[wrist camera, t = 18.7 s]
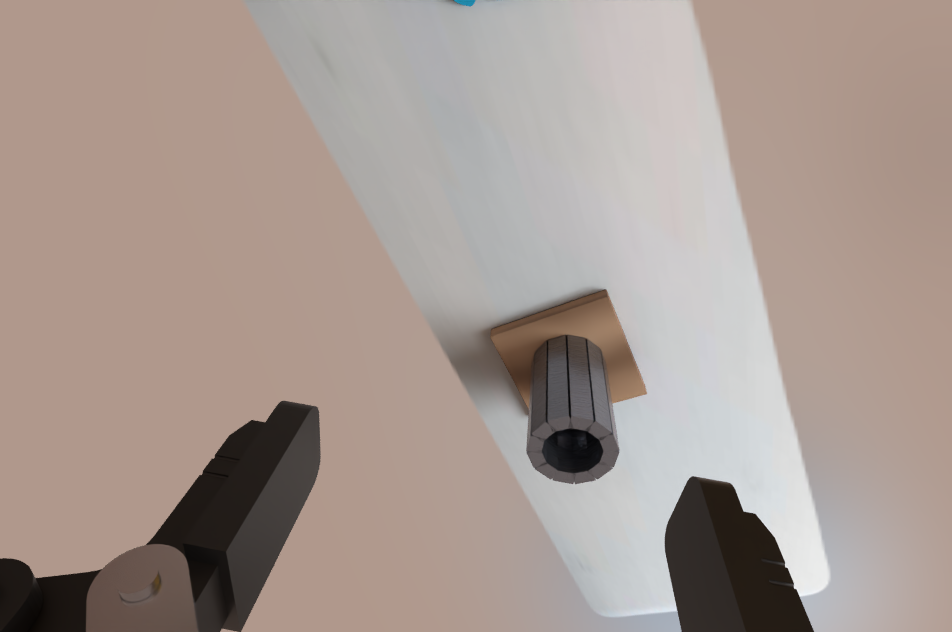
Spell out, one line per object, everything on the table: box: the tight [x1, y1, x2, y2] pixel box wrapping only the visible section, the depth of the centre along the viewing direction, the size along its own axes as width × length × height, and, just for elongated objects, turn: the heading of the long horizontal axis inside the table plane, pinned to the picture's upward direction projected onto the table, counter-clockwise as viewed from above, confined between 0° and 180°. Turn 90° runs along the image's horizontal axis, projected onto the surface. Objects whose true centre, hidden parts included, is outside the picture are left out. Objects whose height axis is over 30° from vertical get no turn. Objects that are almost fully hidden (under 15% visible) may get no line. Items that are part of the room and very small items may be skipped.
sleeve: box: [526, 334, 619, 484], centre depth 40 cm, size 6×6×10 cm
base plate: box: [490, 290, 647, 409], centre depth 45 cm, size 10×10×1 cm
